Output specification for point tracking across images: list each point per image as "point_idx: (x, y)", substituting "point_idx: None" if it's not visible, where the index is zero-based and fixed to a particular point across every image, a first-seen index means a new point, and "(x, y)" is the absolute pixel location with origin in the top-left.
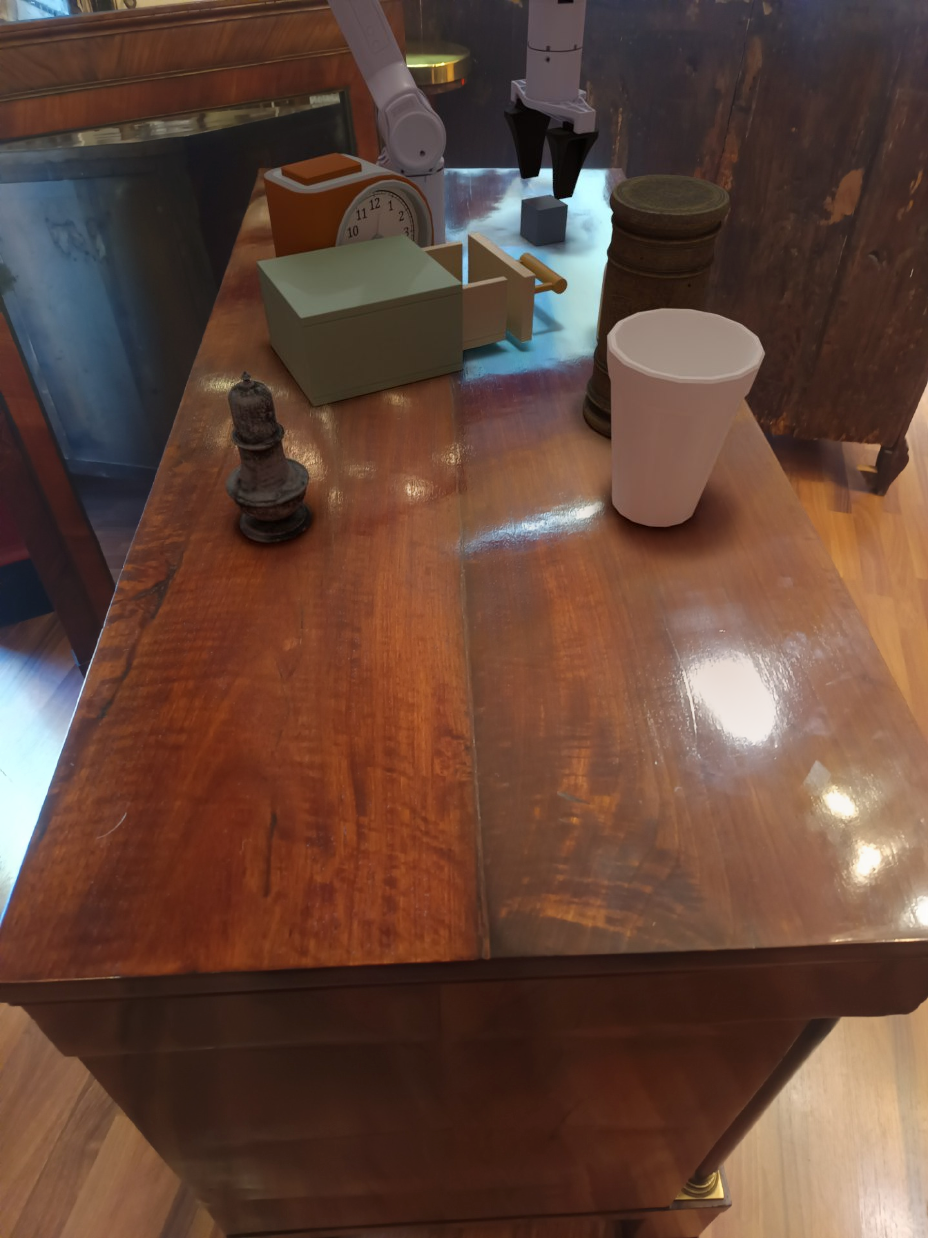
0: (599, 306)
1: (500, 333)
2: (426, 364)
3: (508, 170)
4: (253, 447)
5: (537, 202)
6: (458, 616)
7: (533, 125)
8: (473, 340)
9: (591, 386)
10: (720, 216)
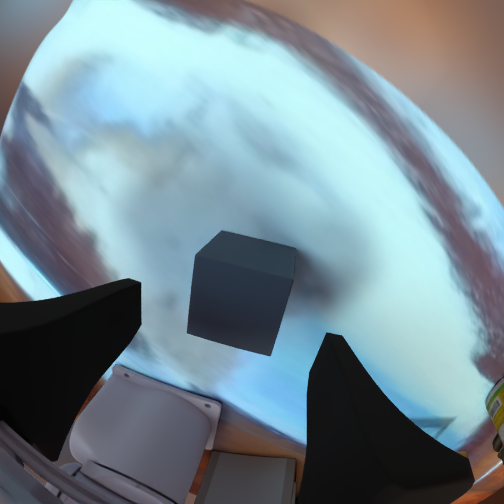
0: (495, 426)
1: None
2: None
3: (9, 115)
4: None
5: (225, 323)
6: (472, 492)
7: (49, 388)
8: None
9: (501, 458)
10: None
